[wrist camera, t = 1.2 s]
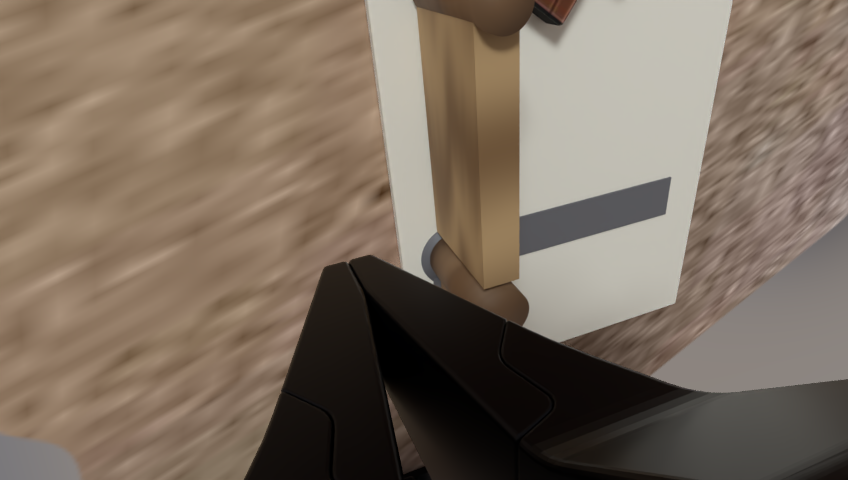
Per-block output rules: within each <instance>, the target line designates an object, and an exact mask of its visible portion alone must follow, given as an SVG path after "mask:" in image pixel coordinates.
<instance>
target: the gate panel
mask: <svg viewBox="0 0 848 480" xmlns="http://www.w3.org/2000/svg"><path fill="white" fill-rule="evenodd" d="M413 1H414V3H415V5H416V7H417V18H418V29H419V40H420V51H421V62H422V73H423V84H424V95H425V106H426V117H427V128H428V139H429V150H430V161H431V172H432V183H433V194H434V205H435V216H436V227H437V232H438V233H439V234H440V236H441V237H442V238H443V239H444V241H445V242H446V243H447V244H448V246H449V247H450V248H451V249H452V250H453V252H454V253H455V254H456V255H457V257H458V258H459V259H460V260H461V262H462V263H463V264H464V265H465V266H466V268H467V269H468V270H469V271H470V273H471V274H472V275H473V276H474V278H475V279H476V280H477V281H478V282H479V284H480V285H481V286H482V287H483V289H487V288H491V287H494V286H497V285H501V284H504V283H507V282H511V281H514V280H517V279H519V171H520V30H521V29H522V28H523V27H524V25H525V24H526V23H527V21H528V20H529V18H530V16H531V14H532V11H533V8H534V3H535V0H413Z"/></svg>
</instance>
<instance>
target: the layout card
mask: <svg viewBox="0 0 848 480" xmlns="http://www.w3.org/2000/svg"><path fill="white" fill-rule="evenodd" d="M732 1H733V0H577V2H576V3H575V5H574V7H573V8H572V10H571V12H570V13H569V15H568V17H567V19H566V20H565V22H564V24H563V25H560V26H557V25H552V24H547V23H545V22H544V21H542V20H541V19H540V18H539V17H537V16H536V15H535V14H533V13H532V14H531V16H530V18H529V20H528V21H527V23H526V24H525V25H524V27H523V28H522V29H521V30H520V171H519V279H517V280H514V281H511V282H512V283H513V284H514V285H515V286H516V287H517V288H518V290H519V291H520V292H521V293H522V294H523V295H524V296H525V297H526V299H527V300H528V303H529V314H528V317H527V319H526V321H525V323H524V324H523V326H522V327H525V328H527V329H529V330H531V331H533V332H536V333H538V334H540V335H542V336H545V337H547V338H549V339H551V340H554V341H556V342H562V341H565V340H568V339H571V338H574V337H577V336H580V335H583V334H586V333H589V332H592V331H595V330H598V329H601V328H603V327H606V326H609V325H612V324H615V323H618V322H621V321H624V320H627V319H630V318H633V317H636V316H639V315H642V314H645V313H648V312H651V311H654V310H657V309H660V308H663V307H666V306H669V305H671V304H674V303H675V301H676V296H677V291H678V285H679V280H680V275H681V270H682V264H683V259H684V254H685V249H686V243H687V238H688V233H689V228H690V222H691V217H692V212H693V207H694V201H695V196H696V191H697V186H698V180H699V175H700V170H701V164H702V159H703V154H704V149H705V143H706V138H707V133H708V128H709V122H710V117H711V112H712V107H713V101H714V96H715V91H716V86H717V80H718V75H719V70H720V65H721V59H722V54H723V49H724V44H725V38H726V33H727V28H728V22H729V17H730V12H731V7H732ZM365 6H366V13H367V21H368V28H369V35H370V43H371V50H372V57H373V65H374V72H375V79H376V87H377V94H378V101H379V109H380V116H381V123H382V131H383V138H384V145H385V153H386V160H387V167H388V175H389V182H390V189H391V197H392V204H393V211H394V219H395V226H396V233H397V241H398V248H399V255H400V263H401V269H403V270H405V271H407V272H409V273H411V274H413V275H415V276H417V277H419V278H421V279H424V280H426V281H428V282H430V283H432V284H434V285H436V286H438V287H440V288H441V281H440V279H439V278H438V277H437V275H436V274H435V272H434V271H433V269H432V268H431V265H430V255H431V252H432V249H433V248H434V246H435V245H436V244H437V242H438V241H439V240H441V239H442V237H441V236H440V234H439V233H438V232H437V227H436V216H435V205H434V194H433V183H432V172H431V161H430V150H429V139H428V128H427V117H426V106H425V95H424V84H423V73H422V62H421V51H420V40H419V29H418V18H417V7H416V5H415V3H414V1H413V0H365Z"/></svg>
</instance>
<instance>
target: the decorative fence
mask: <svg viewBox="0 0 848 480" xmlns="http://www.w3.org/2000/svg"><path fill="white" fill-rule="evenodd" d="M576 2H577V0H535V3H534V8H533V11H532V13H533V14H535V15H536V16H537V17H539V18H540V19H541V20H542V21H544V22H545V23H547V24H552V25H557V26H560V25H563V24H564V22H565V20H566V19H567V17H568V15H569V13H570V12H571V10H572V8H573V7H574V5H575V3H576Z"/></svg>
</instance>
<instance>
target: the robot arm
mask: <svg viewBox="0 0 848 480" xmlns="http://www.w3.org/2000/svg"><path fill="white" fill-rule="evenodd" d="M385 387H386V389H385ZM386 390H387V392H388V394H389V396H390V398H391V400H392V402H393V404H394V406H395V408H396V410H397V412H398V414H399V416H400V418H401V420H402V422H403V424H404V426H405V428H406V430H407V432H408V434H409V435H410V437H411V439H412V441H413V443H414V445H415V447H416V449H417V451H418V453H419V455H420V457H421V459H422V461H423V463H424V465H425V467H424V468H422V469H419V470H416V471H414V472H411V473H409V474H406V475H403V471H402V466H401V461H400V456H399V452H398V447H397V442H396V437H395V432H394V427H393V423H392V418H391V413H390V408H389V403H388V398H387V394H386ZM244 480H848V379H846V380H838V381H829V382H820V383H811V384H803V385H795V386H786V387H777V388H768V389H760V390H751V391H742V392H731V393H711V392H703V391H696V390H691V389H686V388H682V387H679V386H676V385H673V384H670V383H667V382H664V381H661V380H658V379H655V378H653V377H650V376H648V375H645V374H642V373H639V372H637V371H634V370H631V369H628V368H625V367H623V366H620V365H617V364H614V363H612V362H609V361H606V360H603V359H601V358H598V357H595V356H592V355H590V354H587V353H584V352H582V351H579V350H577V349H574V348H572V347H569V346H566V345H564V344H561V343H559V342H556V341H554V340H551V339H549V338H547V337H545V336H542V335H540V334H538V333H536V332H533V331H531V330H529V329H527V328H525V327H522V326H520V325H518V324H516V323H514V322H512V321H507V320H506V319H505V318H503V317H501V316H499V315H497V314H495V313H493V312H491V311H489V310H486V309H484V308H482V307H480V306H478V305H476V304H474V303H472V302H470V301H468V300H465V299H463V298H461V297H459V296H457V295H455V294H453V293H451V292H449V291H447V290H444V289H442V288H440V287H438V286H436V285H434V284H432V283H430V282H428V281H426V280H424V279H421V278H419V277H417V276H415V275H413V274H411V273H409V272H407V271H405V270H403V269H400V268H398V267H396V266H394V265H392V264H390V263H388V262H386V261H384V260H382V259H379V258H377V257H375V256H373V255H367V256H363V257H359V258H356V259H352V260H350V262H349V264H348V263H347V262H340V263H337V264H333V265H329V266H326V267H325V268H324V269H323V271H322V274H321V277H320V280H319V283H318V285H317V288H316V291H315V294H314V297H313V300H312V303H311V306H310V309H309V312H308V315H307V317H306V320H305V323H304V326H303V329H302V332H301V335H300V338H299V341H298V344H297V346H296V349H295V352H294V355H293V358H292V361H291V364H290V367H289V370H288V373H287V375H286V378H285V381H284V384H283V387H282V390H281V394H280V395H279V398H278V401H277V404H276V407H275V410H274V413H273V415H272V418H271V420H270V423H269V425H268V428H267V431H266V433H265V436H264V438H263V441H262V443H261V445H260V447H259V449H258V451H257V453H256V456H255V458H254V460H253V462H252V464H251V466H250V468H249V470H248V472H247V474H246V476H245V478H244Z"/></svg>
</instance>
